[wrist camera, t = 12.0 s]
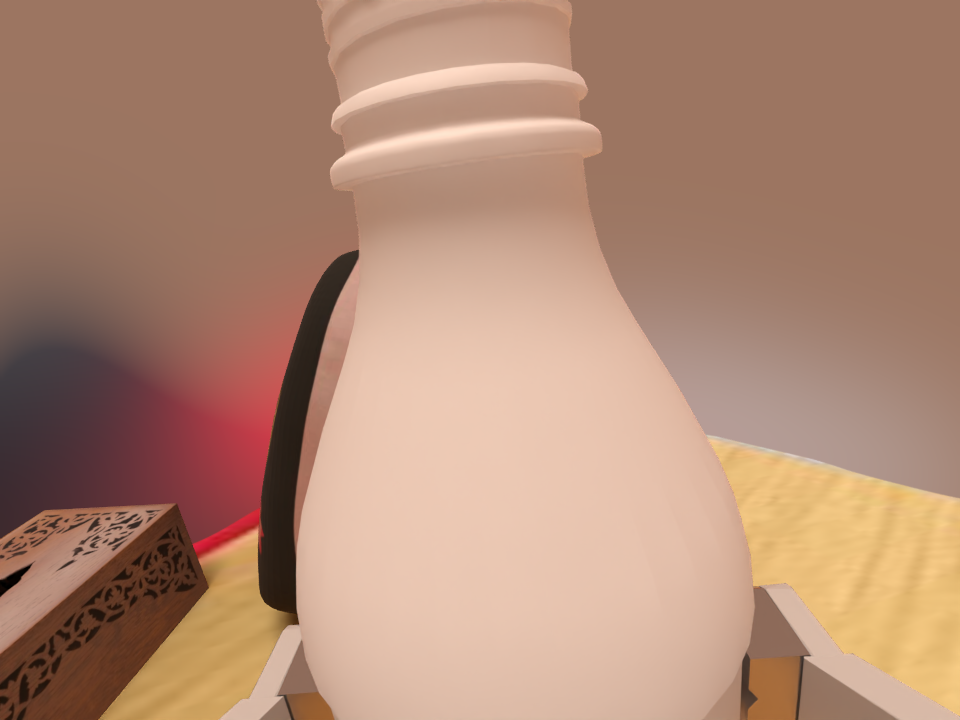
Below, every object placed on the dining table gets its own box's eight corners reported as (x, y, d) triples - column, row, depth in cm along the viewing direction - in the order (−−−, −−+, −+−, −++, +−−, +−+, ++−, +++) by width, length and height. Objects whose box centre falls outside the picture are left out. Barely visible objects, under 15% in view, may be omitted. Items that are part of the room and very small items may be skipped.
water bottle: (430, 935, 16) (195, 72, 8) (626, 840, 18) (574, 46, 10) (500, 1444, 9) (-325, -498, 2) (803, 1215, 11) (1044, -299, 3)
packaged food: (316, 515, 58) (244, 259, 49) (480, 486, 59) (440, 231, 50) (253, 686, 37) (108, 297, 28) (508, 637, 38) (448, 247, 29)
